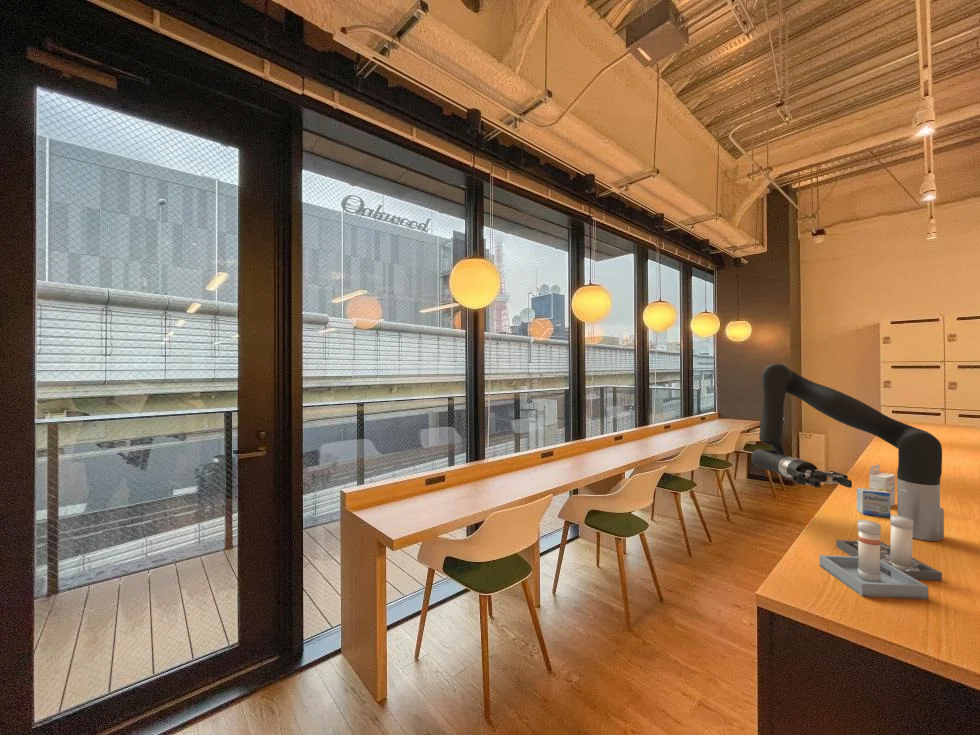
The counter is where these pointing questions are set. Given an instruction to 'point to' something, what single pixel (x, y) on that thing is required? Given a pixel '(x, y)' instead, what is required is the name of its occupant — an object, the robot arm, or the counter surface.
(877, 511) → the medicine box
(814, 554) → the counter surface
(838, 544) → the clip holder
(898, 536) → the fuse
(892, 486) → the ink box
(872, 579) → the banded white cylinder
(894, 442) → the robot arm
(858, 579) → the tray
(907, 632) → the counter surface
